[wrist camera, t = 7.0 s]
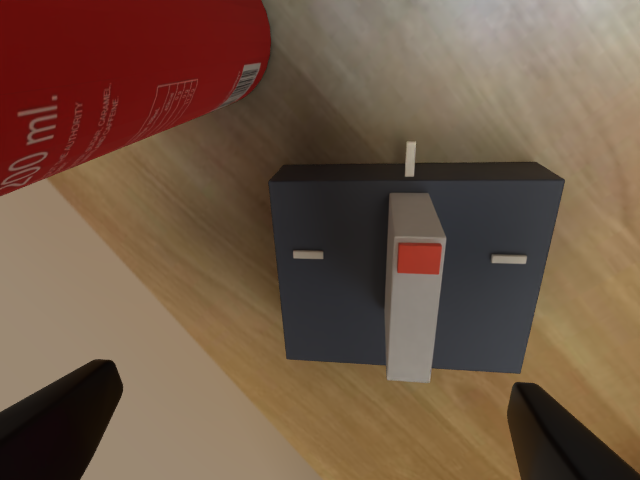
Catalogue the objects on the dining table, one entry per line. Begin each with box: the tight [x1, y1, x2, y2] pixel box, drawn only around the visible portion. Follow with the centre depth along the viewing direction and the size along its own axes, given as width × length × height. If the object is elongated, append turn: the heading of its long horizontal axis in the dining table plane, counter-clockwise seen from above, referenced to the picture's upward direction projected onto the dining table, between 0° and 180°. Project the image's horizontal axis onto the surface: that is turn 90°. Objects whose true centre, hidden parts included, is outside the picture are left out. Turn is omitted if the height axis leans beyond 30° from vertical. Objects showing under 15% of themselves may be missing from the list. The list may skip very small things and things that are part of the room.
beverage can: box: [0, 0, 271, 196], centre depth 11 cm, size 6×6×15 cm
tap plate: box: [268, 141, 565, 374], centre depth 19 cm, size 12×12×3 cm
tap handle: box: [384, 193, 446, 383], centre depth 15 cm, size 6×2×5 cm, turn 2°
